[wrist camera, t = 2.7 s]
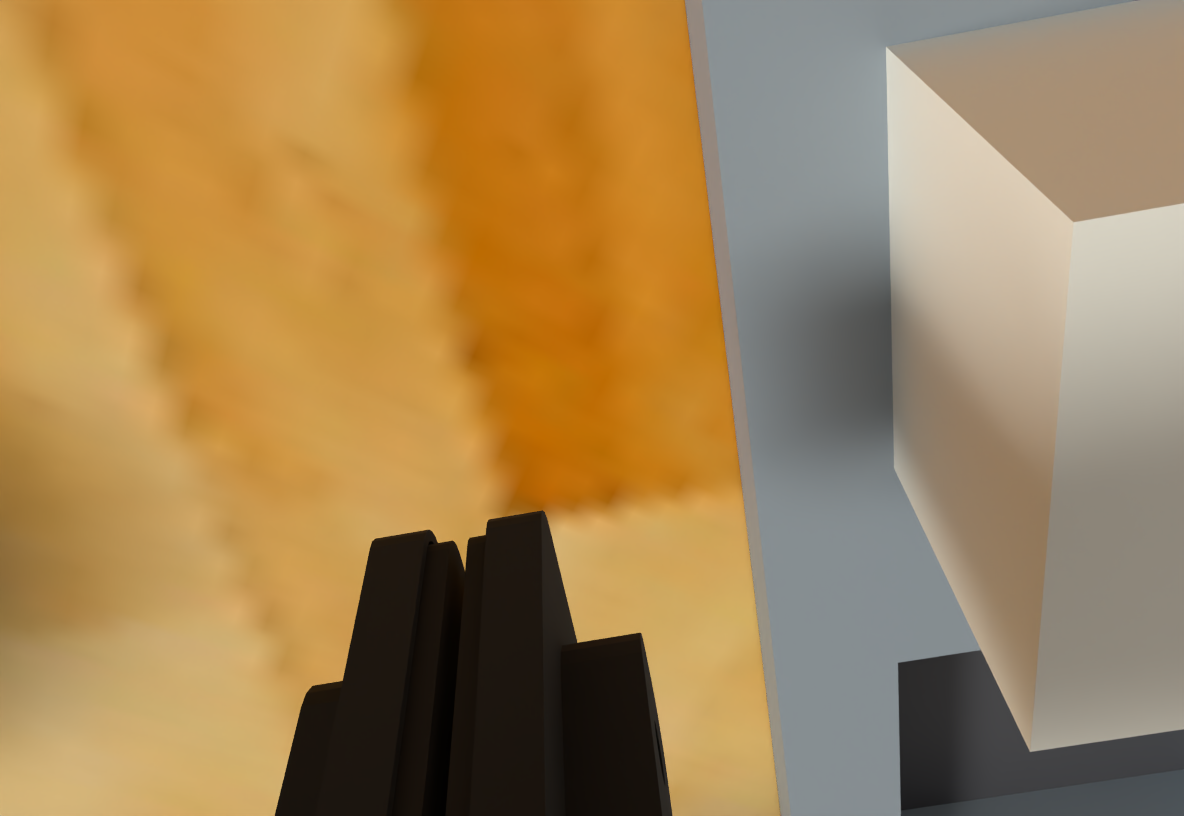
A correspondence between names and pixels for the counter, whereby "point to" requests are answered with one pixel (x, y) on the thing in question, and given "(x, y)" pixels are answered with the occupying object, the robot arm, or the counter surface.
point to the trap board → (857, 437)
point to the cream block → (1048, 353)
